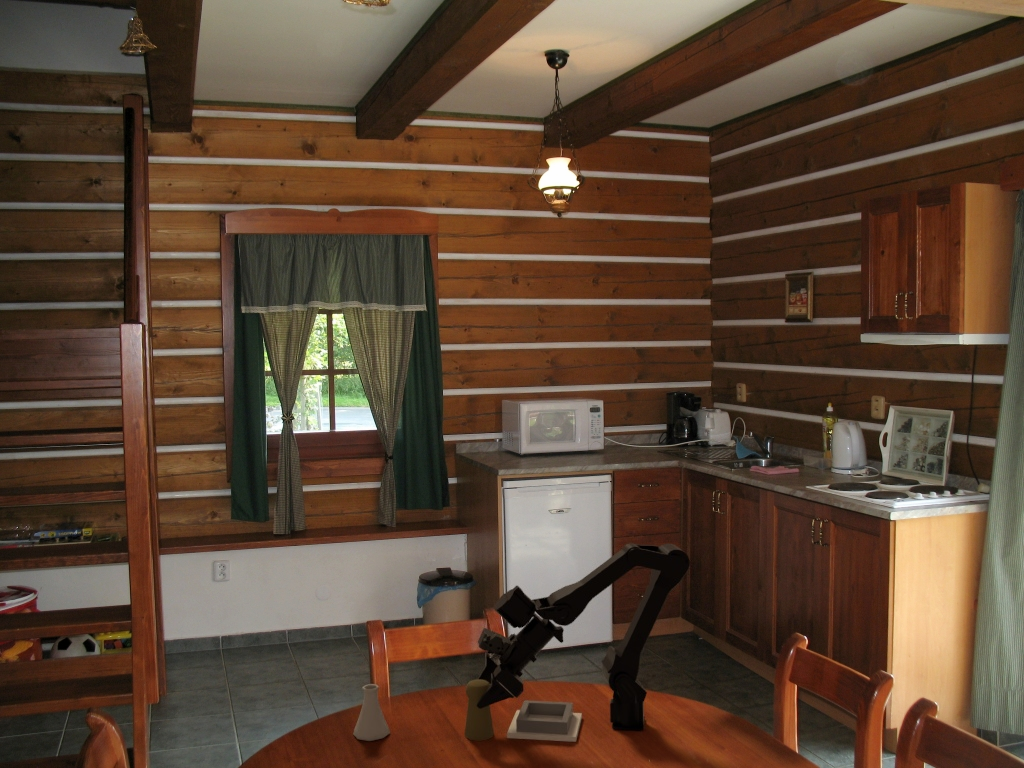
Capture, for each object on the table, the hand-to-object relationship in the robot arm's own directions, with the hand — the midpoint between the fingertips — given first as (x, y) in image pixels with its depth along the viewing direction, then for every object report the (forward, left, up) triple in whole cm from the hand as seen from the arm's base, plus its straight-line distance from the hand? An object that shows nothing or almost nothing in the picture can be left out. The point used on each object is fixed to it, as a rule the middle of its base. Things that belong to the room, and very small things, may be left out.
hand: (475, 698), depth 189 cm
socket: (-14, -5, -7) cm, 16 cm away
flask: (+21, +3, -8) cm, 23 cm away
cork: (-1, 0, -8) cm, 8 cm away
